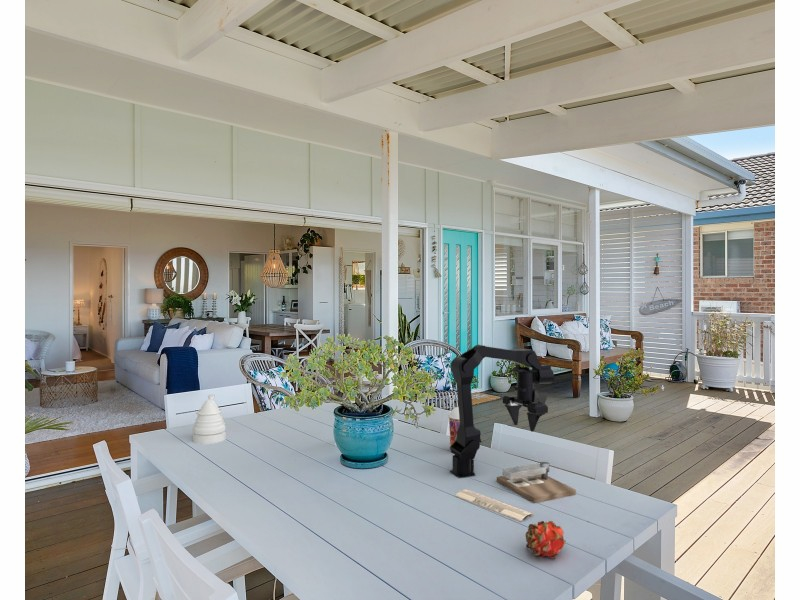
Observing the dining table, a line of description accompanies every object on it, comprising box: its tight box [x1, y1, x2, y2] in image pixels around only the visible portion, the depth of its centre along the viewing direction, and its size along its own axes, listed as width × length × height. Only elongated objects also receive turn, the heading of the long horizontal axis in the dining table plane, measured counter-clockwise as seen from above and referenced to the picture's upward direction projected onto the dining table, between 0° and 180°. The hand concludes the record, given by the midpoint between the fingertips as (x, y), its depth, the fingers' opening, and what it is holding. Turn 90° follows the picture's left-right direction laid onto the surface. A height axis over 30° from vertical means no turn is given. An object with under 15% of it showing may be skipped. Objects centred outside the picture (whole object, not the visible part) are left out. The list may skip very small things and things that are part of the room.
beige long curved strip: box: [455, 489, 535, 522], centre depth 151 cm, size 24×7×2 cm, turn 43°
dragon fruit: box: [525, 520, 566, 560], centre depth 124 cm, size 8×8×12 cm
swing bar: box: [502, 461, 550, 480], centre depth 166 cm, size 16×4×2 cm, turn 115°
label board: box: [496, 472, 577, 504], centre depth 165 cm, size 16×19×4 cm
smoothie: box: [448, 406, 460, 447], centre depth 202 cm, size 8×8×20 cm
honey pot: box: [192, 394, 227, 445], centre depth 216 cm, size 13×13×18 cm
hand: (523, 428), depth 185 cm, fingers open, 9 cm apart
